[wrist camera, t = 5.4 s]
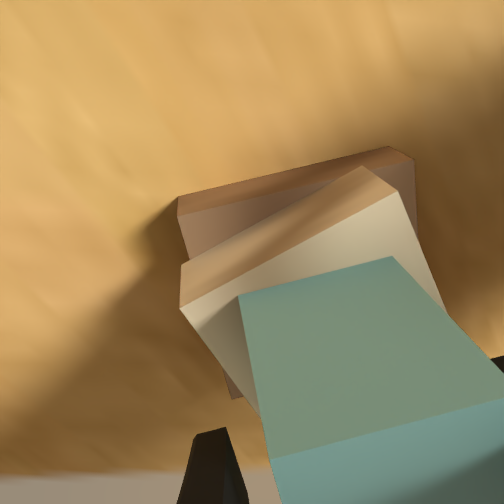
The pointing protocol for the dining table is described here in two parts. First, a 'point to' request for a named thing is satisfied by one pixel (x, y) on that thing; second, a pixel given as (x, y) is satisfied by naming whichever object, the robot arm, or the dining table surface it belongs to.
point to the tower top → (296, 260)
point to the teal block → (373, 392)
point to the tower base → (282, 200)
